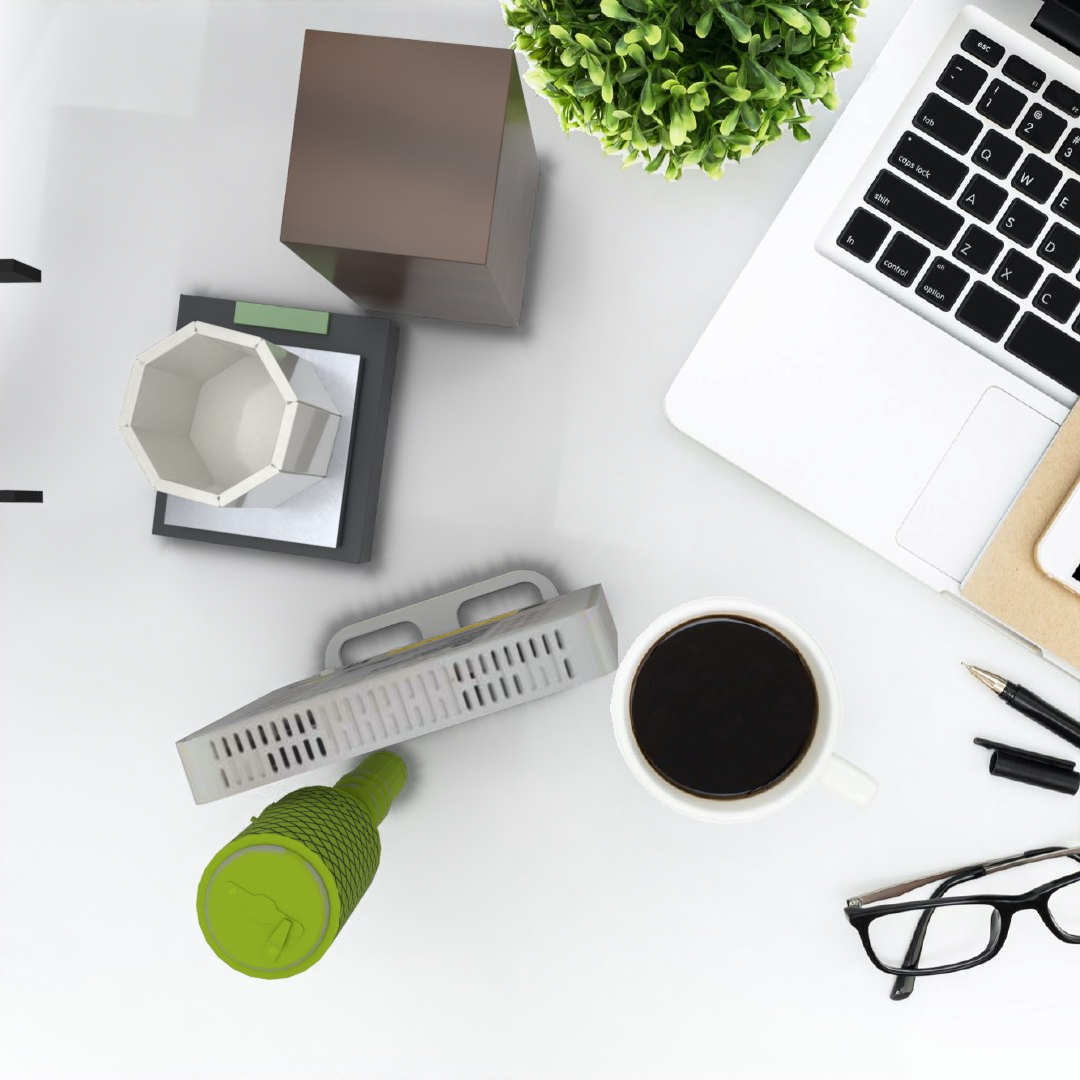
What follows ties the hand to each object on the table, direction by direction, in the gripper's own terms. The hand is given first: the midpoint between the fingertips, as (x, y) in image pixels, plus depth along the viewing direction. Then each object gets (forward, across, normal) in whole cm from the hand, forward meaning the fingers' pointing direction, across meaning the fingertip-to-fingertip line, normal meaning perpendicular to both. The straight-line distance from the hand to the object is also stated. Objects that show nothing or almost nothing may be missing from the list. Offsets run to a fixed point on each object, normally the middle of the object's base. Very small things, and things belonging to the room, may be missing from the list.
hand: (29, 384), depth 56 cm
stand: (+23, -13, -16) cm, 31 cm away
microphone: (+18, +28, -16) cm, 37 cm away
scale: (+10, +2, -16) cm, 19 cm away
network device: (+23, +18, -16) cm, 34 cm away
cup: (+10, +2, -12) cm, 15 cm away
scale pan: (+10, +2, -13) cm, 16 cm away
